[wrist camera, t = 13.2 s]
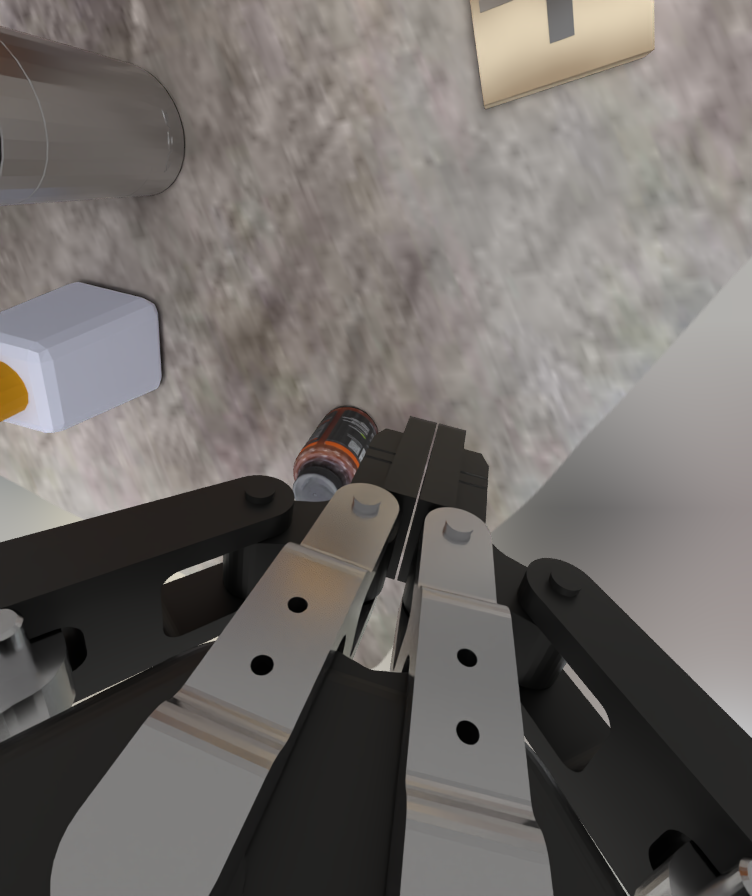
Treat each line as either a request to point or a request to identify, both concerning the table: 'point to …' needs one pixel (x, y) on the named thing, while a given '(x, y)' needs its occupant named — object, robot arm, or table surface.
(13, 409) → the soap bottle
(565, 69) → the grooved wooden slider track
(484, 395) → the table surface
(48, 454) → the table surface
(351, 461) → the supplement bottle
